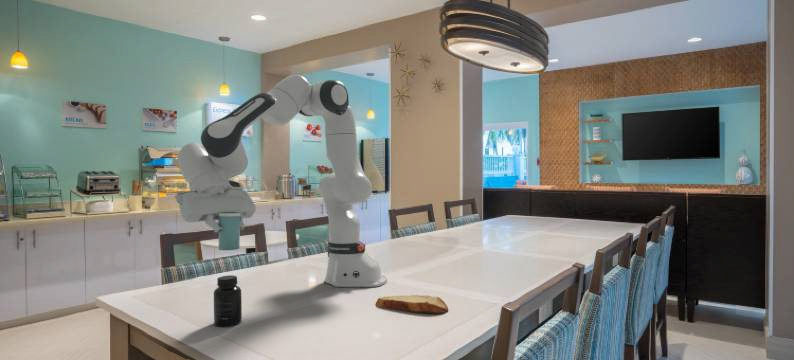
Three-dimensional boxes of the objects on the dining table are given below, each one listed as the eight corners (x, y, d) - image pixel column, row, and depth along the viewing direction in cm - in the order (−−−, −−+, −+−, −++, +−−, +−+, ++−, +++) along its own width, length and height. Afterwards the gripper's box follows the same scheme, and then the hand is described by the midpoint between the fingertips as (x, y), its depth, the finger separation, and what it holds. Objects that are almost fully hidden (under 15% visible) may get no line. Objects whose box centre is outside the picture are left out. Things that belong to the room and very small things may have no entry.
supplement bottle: (218, 319, 121) (218, 274, 121) (244, 318, 122) (244, 274, 122) (210, 328, 114) (209, 280, 114) (237, 327, 115) (237, 280, 115)
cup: (243, 247, 121) (244, 212, 121) (232, 250, 116) (233, 213, 116) (225, 246, 123) (226, 211, 122) (213, 249, 117) (214, 213, 117)
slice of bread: (371, 304, 137) (371, 291, 136) (424, 297, 144) (424, 285, 144) (395, 322, 120) (395, 308, 120) (454, 313, 127) (454, 300, 127)
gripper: (177, 183, 115) (198, 224, 109) (246, 183, 131) (267, 219, 126) (168, 200, 117) (188, 241, 112) (237, 197, 134) (257, 233, 128)
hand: (230, 229), depth 119 cm, fingers closed on cup, 5 cm apart
